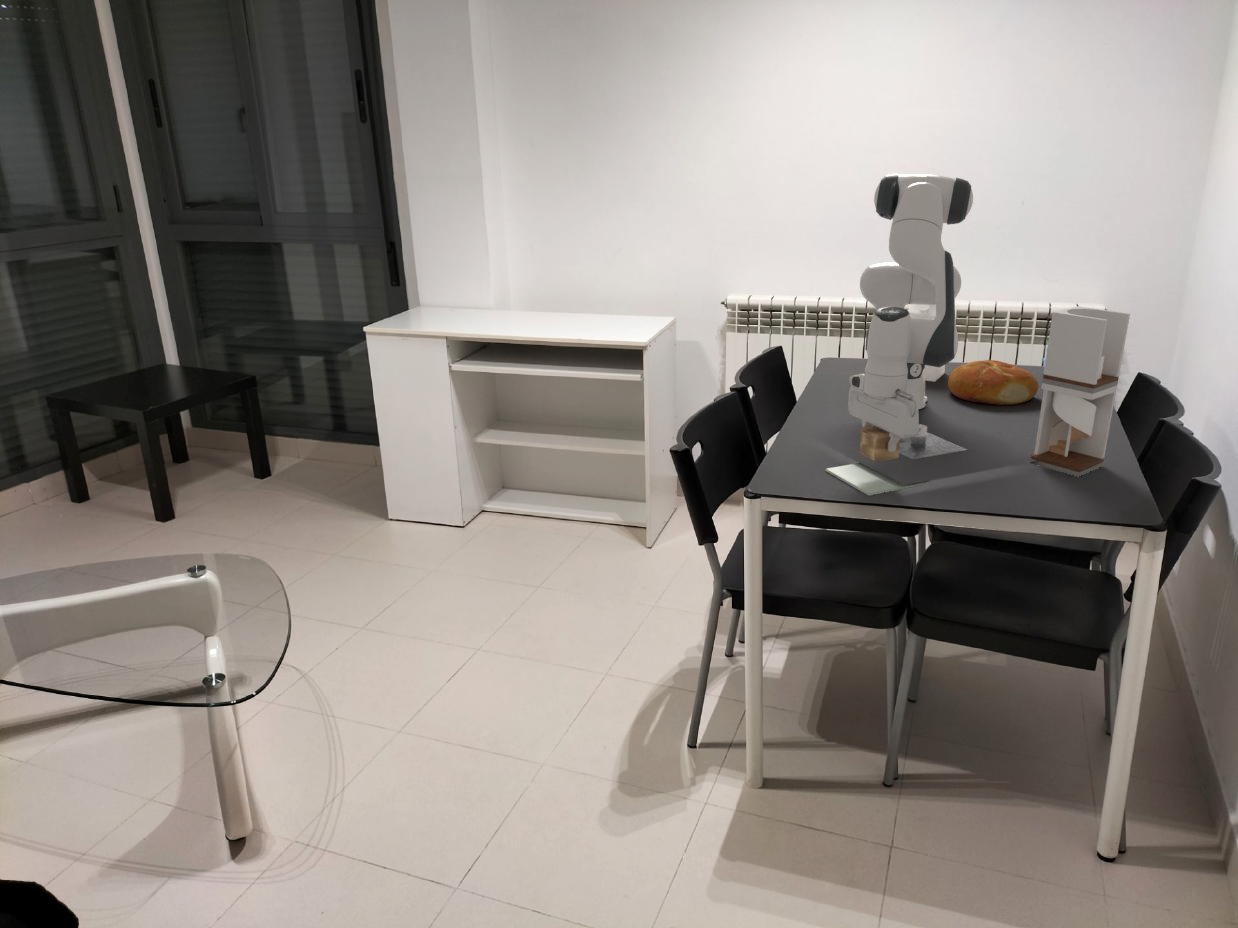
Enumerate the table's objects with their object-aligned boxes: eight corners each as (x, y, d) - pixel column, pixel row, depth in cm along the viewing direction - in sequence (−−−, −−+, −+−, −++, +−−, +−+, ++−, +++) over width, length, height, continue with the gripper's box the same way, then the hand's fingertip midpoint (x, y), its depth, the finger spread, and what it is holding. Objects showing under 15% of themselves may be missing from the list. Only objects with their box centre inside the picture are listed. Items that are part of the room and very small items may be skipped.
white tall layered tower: (1030, 463, 212) (1052, 312, 199) (1054, 453, 218) (1077, 306, 205) (1078, 477, 203) (1105, 320, 191) (1102, 466, 209) (1130, 313, 197)
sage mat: (825, 471, 209) (825, 468, 209) (883, 461, 214) (884, 458, 214) (868, 495, 195) (868, 492, 195) (929, 484, 200) (930, 481, 200)
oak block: (859, 453, 204) (861, 427, 202) (881, 449, 206) (883, 424, 204) (875, 461, 199) (878, 435, 197) (898, 457, 201) (901, 431, 199)
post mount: (869, 444, 225) (871, 421, 223) (922, 436, 231) (925, 413, 229) (911, 465, 211) (914, 440, 209) (967, 455, 217) (970, 431, 215)
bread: (1018, 414, 247) (1023, 378, 244) (934, 399, 261) (937, 365, 258) (1046, 395, 263) (1051, 361, 260) (965, 382, 278) (969, 350, 274)
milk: (944, 373, 287) (953, 289, 278) (934, 381, 278) (944, 295, 269) (905, 368, 293) (913, 286, 284) (895, 376, 284) (903, 292, 275)
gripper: (929, 395, 189) (922, 458, 194) (868, 372, 207) (863, 430, 212) (904, 398, 187) (898, 462, 192) (845, 375, 205) (840, 434, 210)
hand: (879, 445), depth 202 cm, fingers closed on oak block, 6 cm apart
